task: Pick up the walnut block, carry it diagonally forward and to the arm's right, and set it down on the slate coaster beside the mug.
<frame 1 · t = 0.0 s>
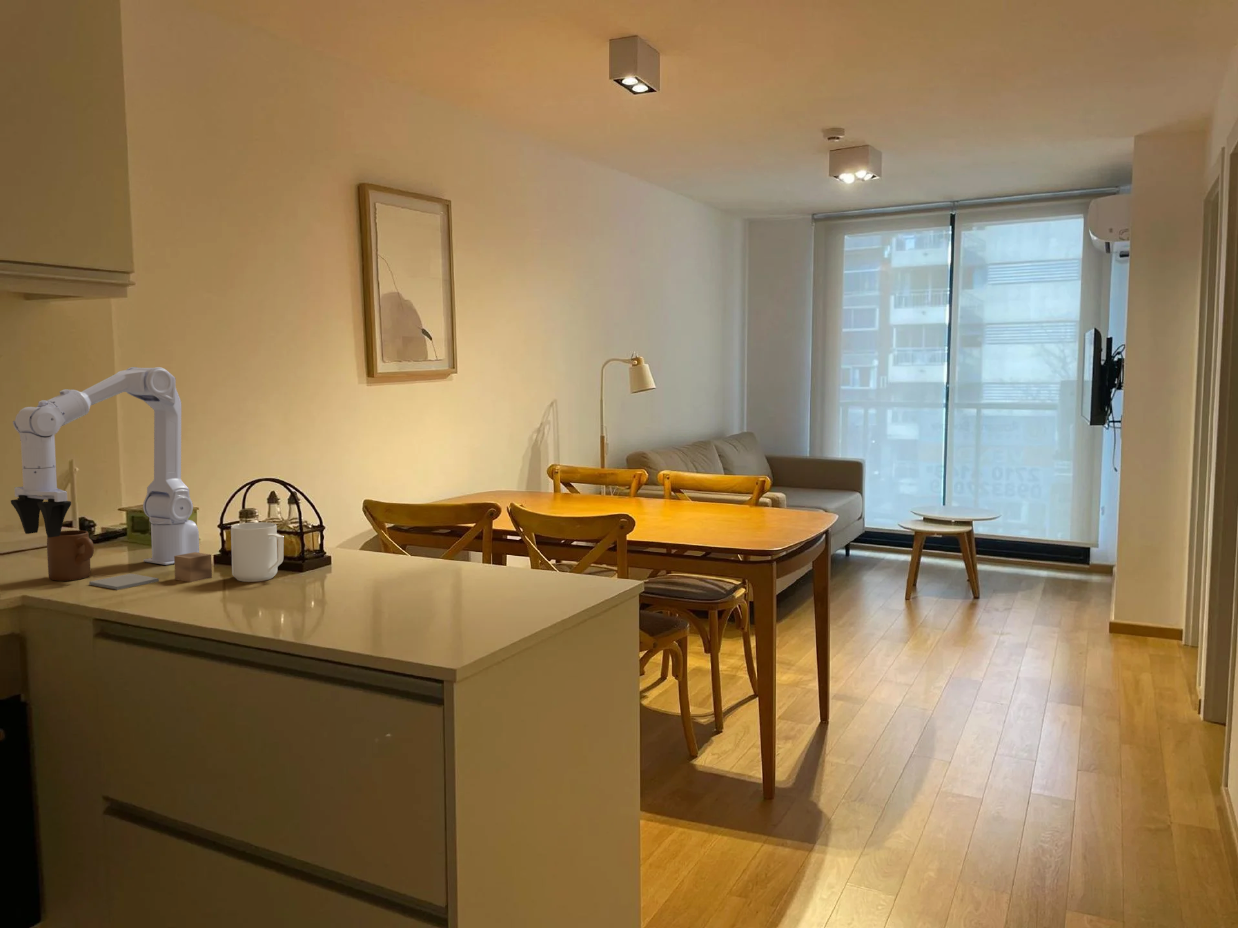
hand: (42, 534, 185), 10 cm above the countertop, fingers open, 7 cm apart
slate coaster: (124, 582, 188), on the countertop
mug: (76, 579, 192), on the countertop
mug 2: (260, 579, 194), on the countertop
walnut block: (193, 578, 193), on the countertop
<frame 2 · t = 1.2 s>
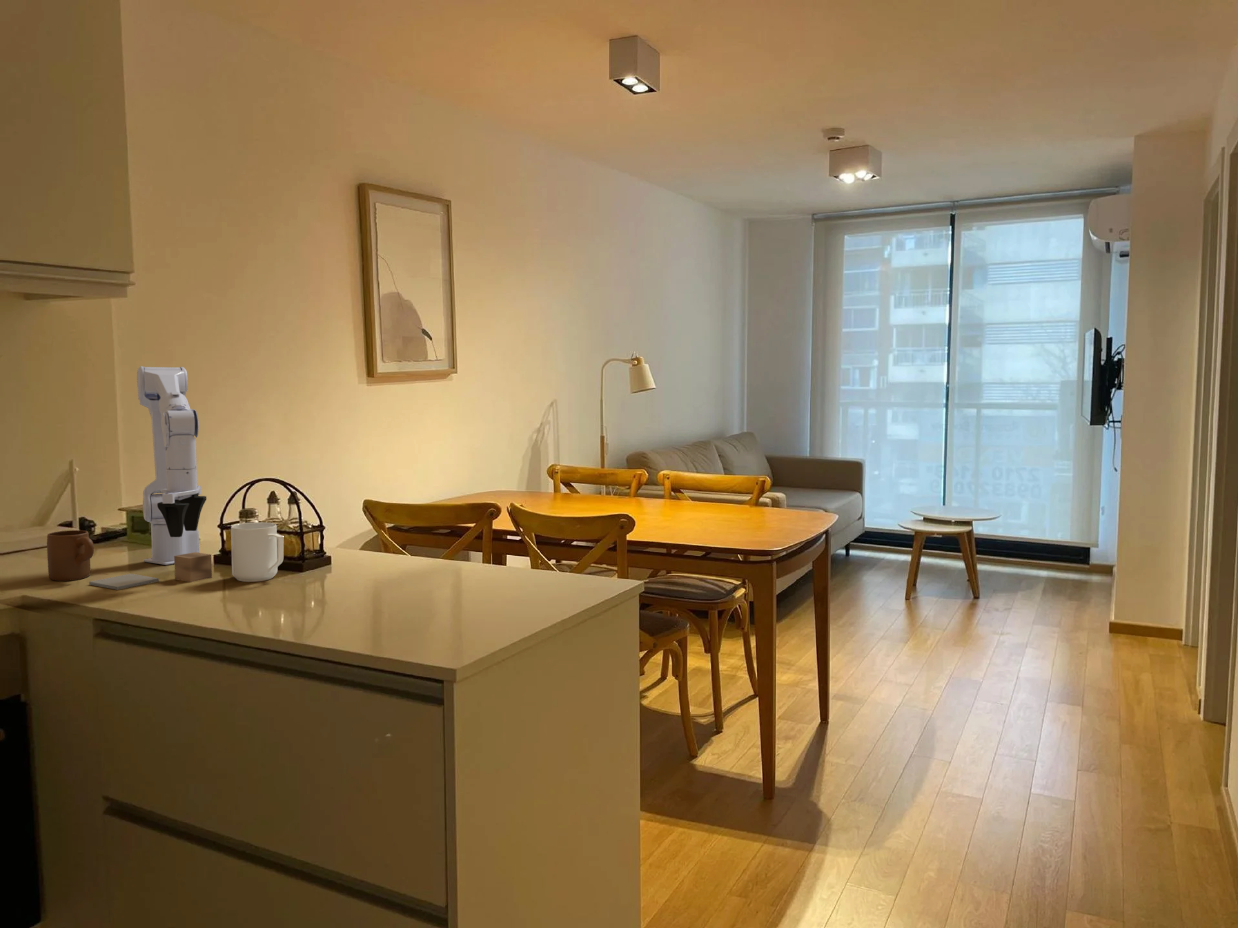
hand: (183, 533, 192), 9 cm above the countertop, fingers open, 7 cm apart
nothing on the countertop moved.
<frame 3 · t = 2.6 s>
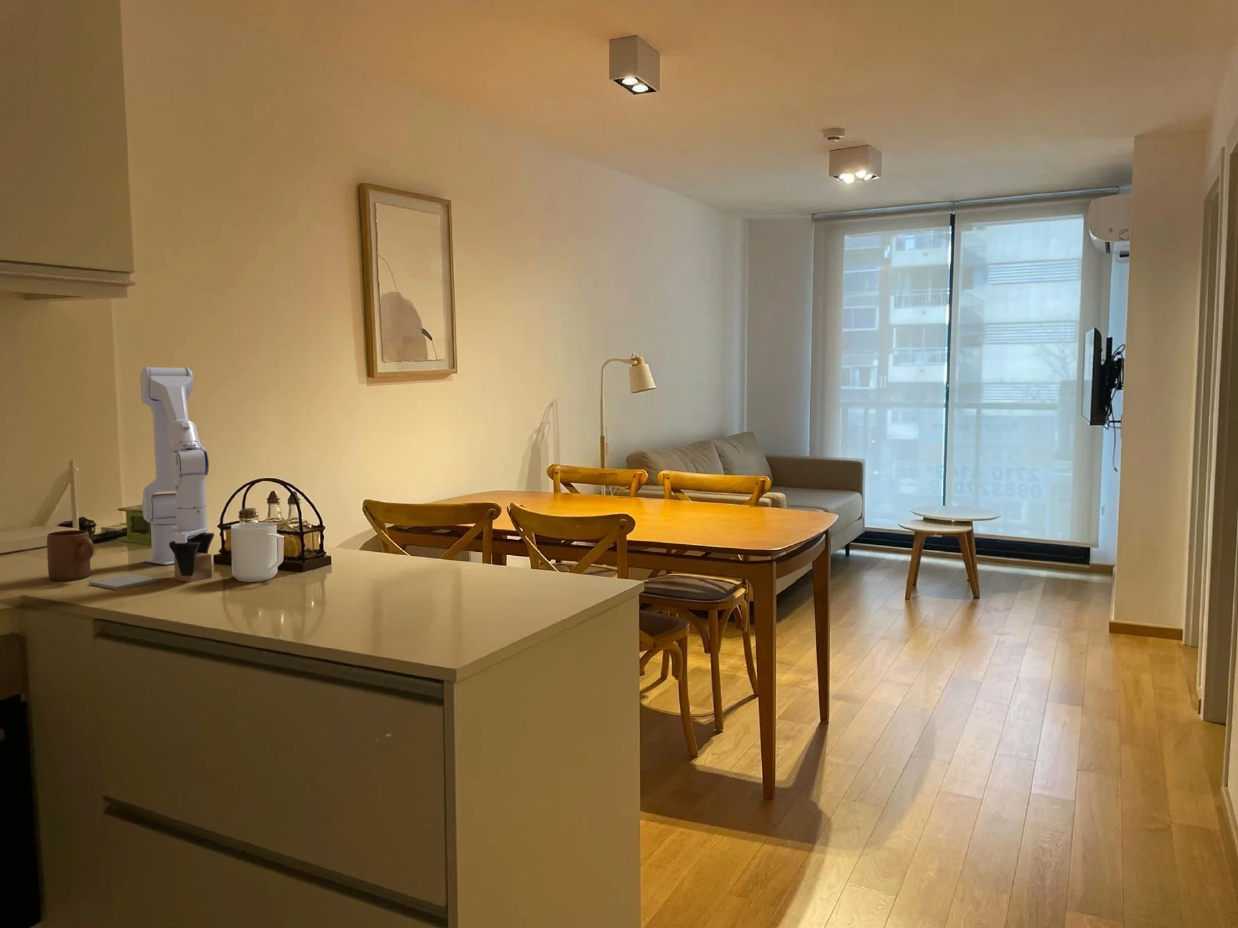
hand: (193, 571, 193), 1 cm above the countertop, fingers closed on walnut block, 7 cm apart
walnut block: (193, 578, 193), on the countertop, touching gripper
everything else where it was.
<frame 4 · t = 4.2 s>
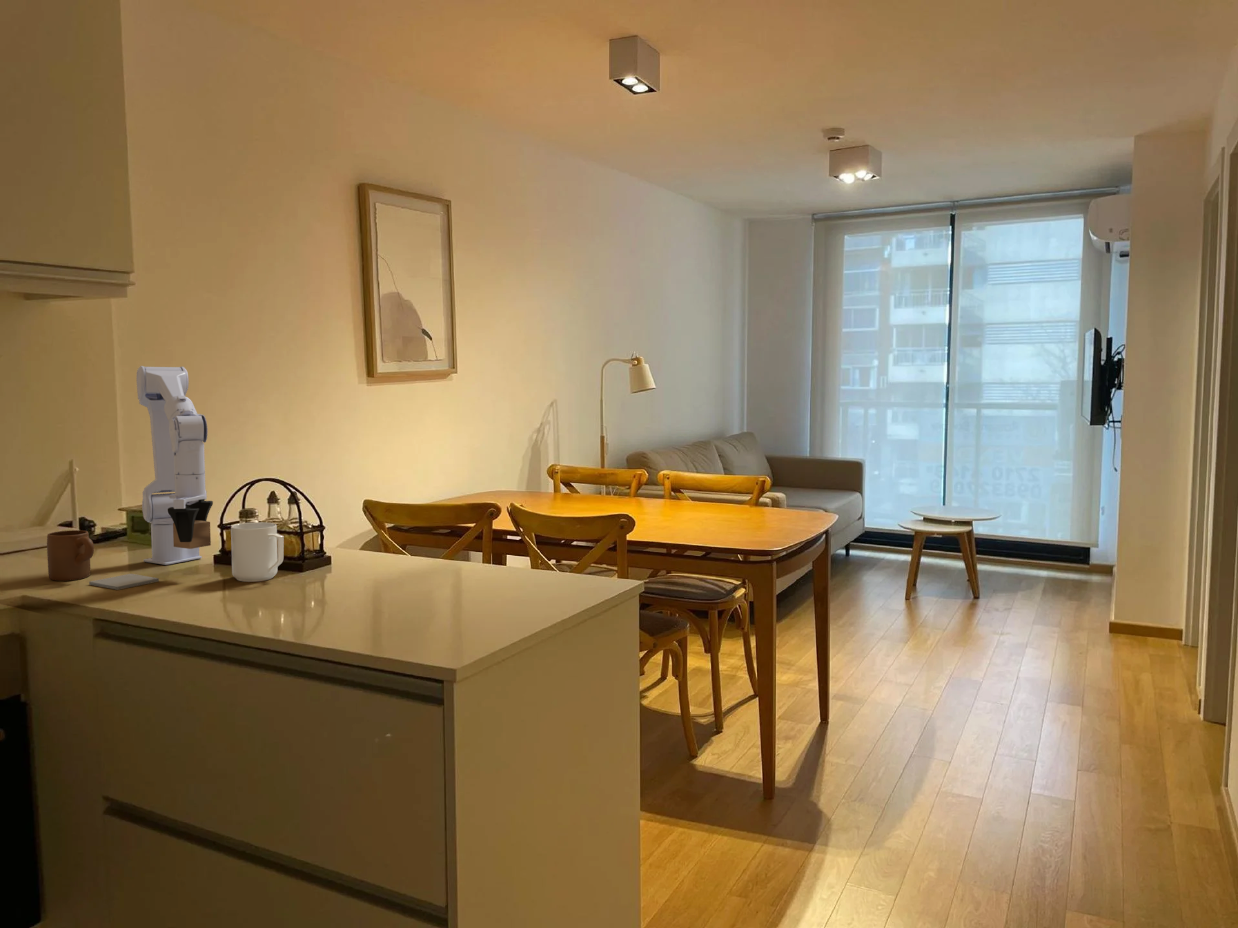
hand: (191, 538, 192), 8 cm above the countertop, fingers closed on walnut block, 7 cm apart
walnut block: (192, 546, 193), point 7 cm above the countertop, touching gripper
everything else where it was.
when the fingers open (8 cm above the countertop, at t = 4.5 s): walnut block drops 6 cm, resting on slate coaster.
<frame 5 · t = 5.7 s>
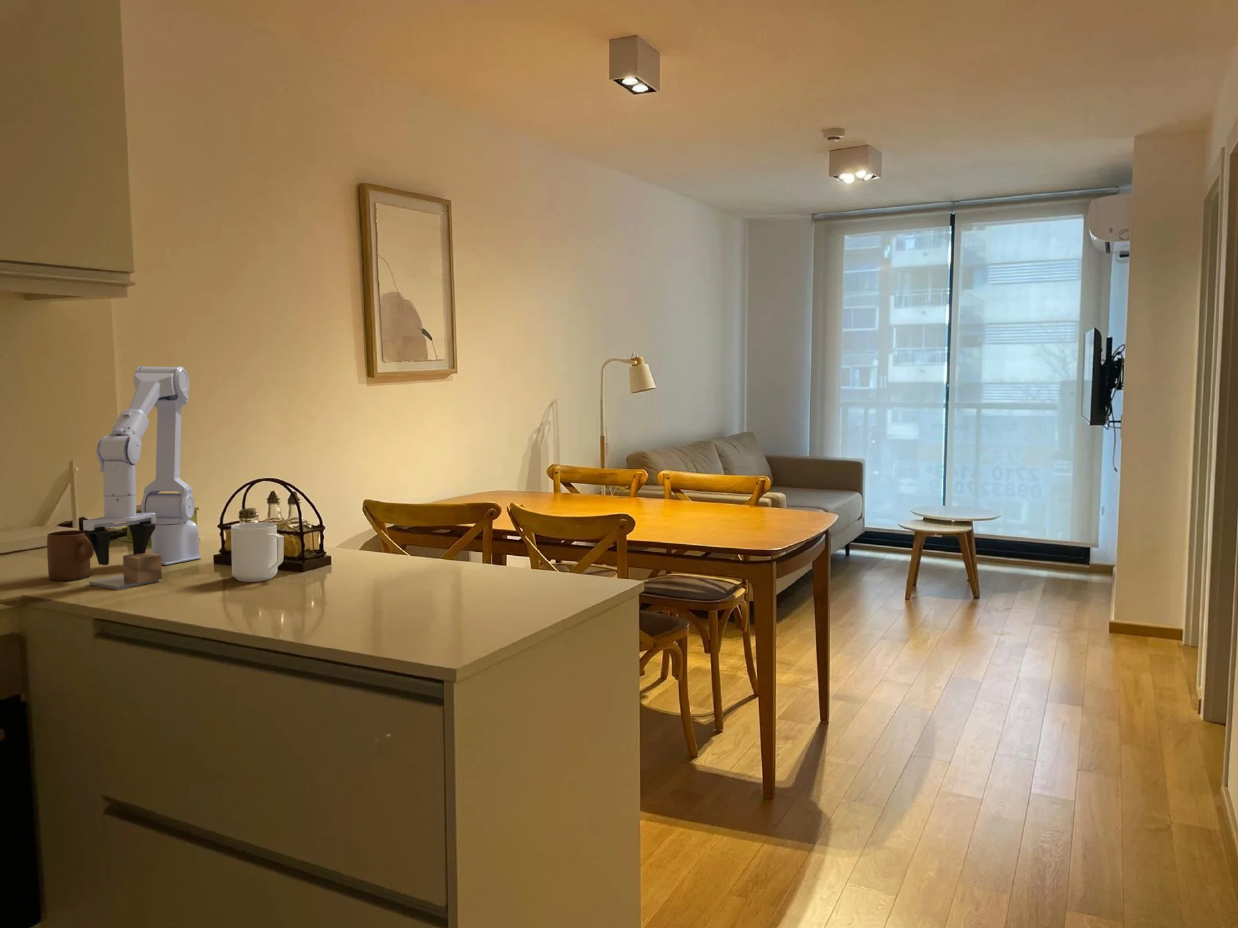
hand: (121, 561, 188), 4 cm above the countertop, fingers open, 7 cm apart
walnut block: (142, 579, 189), point 1 cm above the countertop, touching gripper, slate coaster
everything else where it was.
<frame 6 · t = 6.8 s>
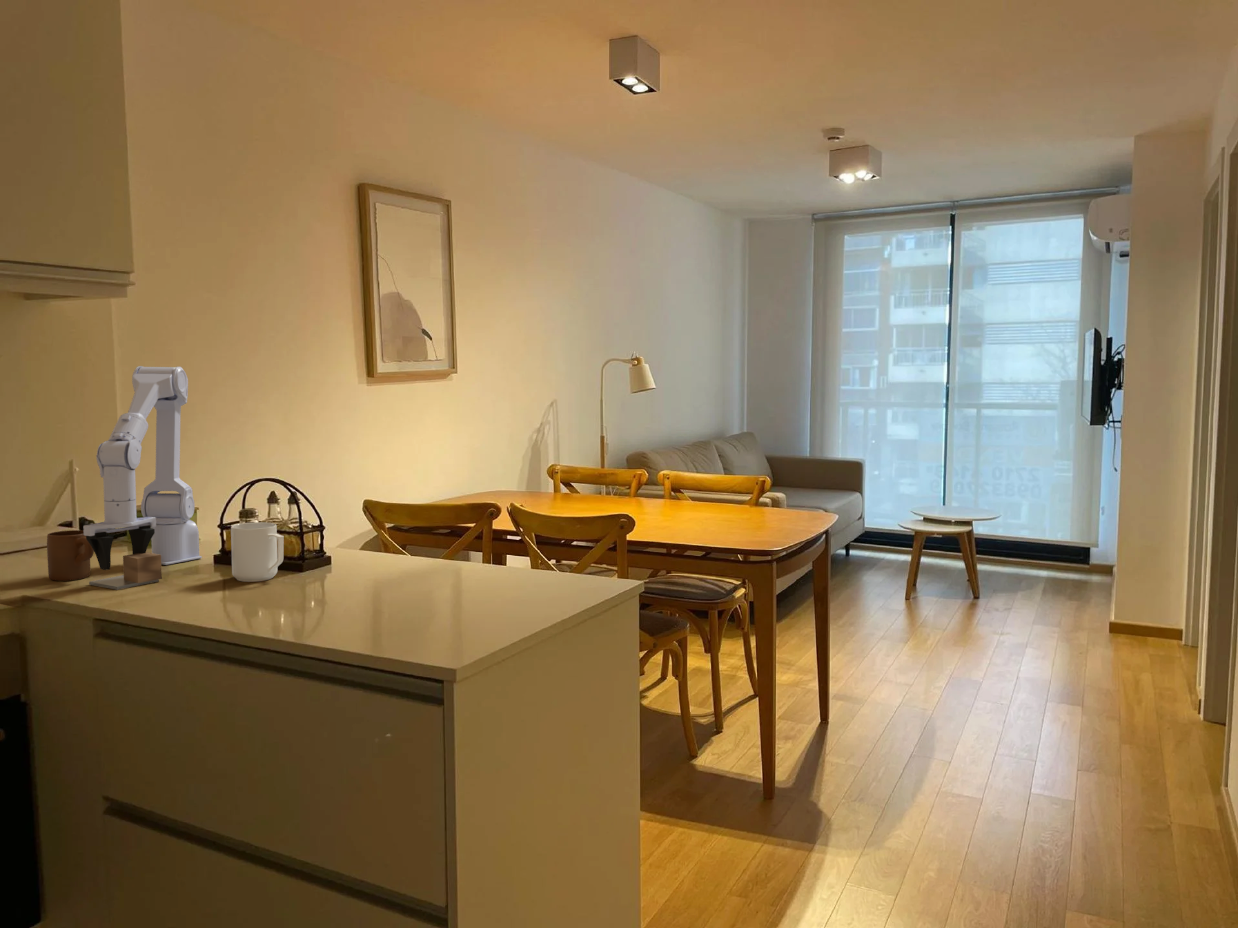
hand: (122, 566, 188), 3 cm above the countertop, fingers open, 7 cm apart
nothing on the countertop moved.
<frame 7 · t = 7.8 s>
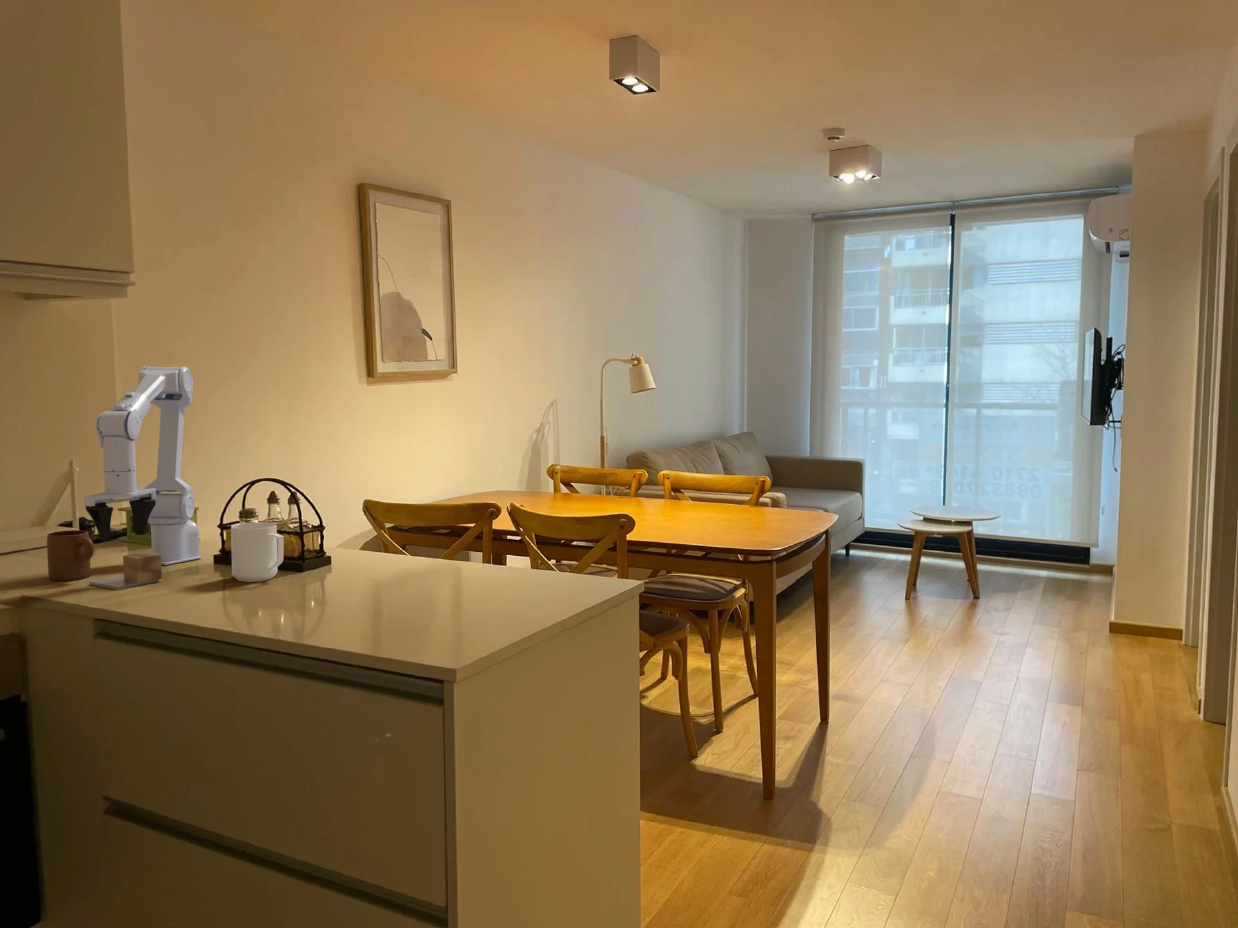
hand: (122, 537, 187), 9 cm above the countertop, fingers open, 7 cm apart
walnut block: (143, 579, 189), point 1 cm above the countertop, touching slate coaster
everything else where it was.
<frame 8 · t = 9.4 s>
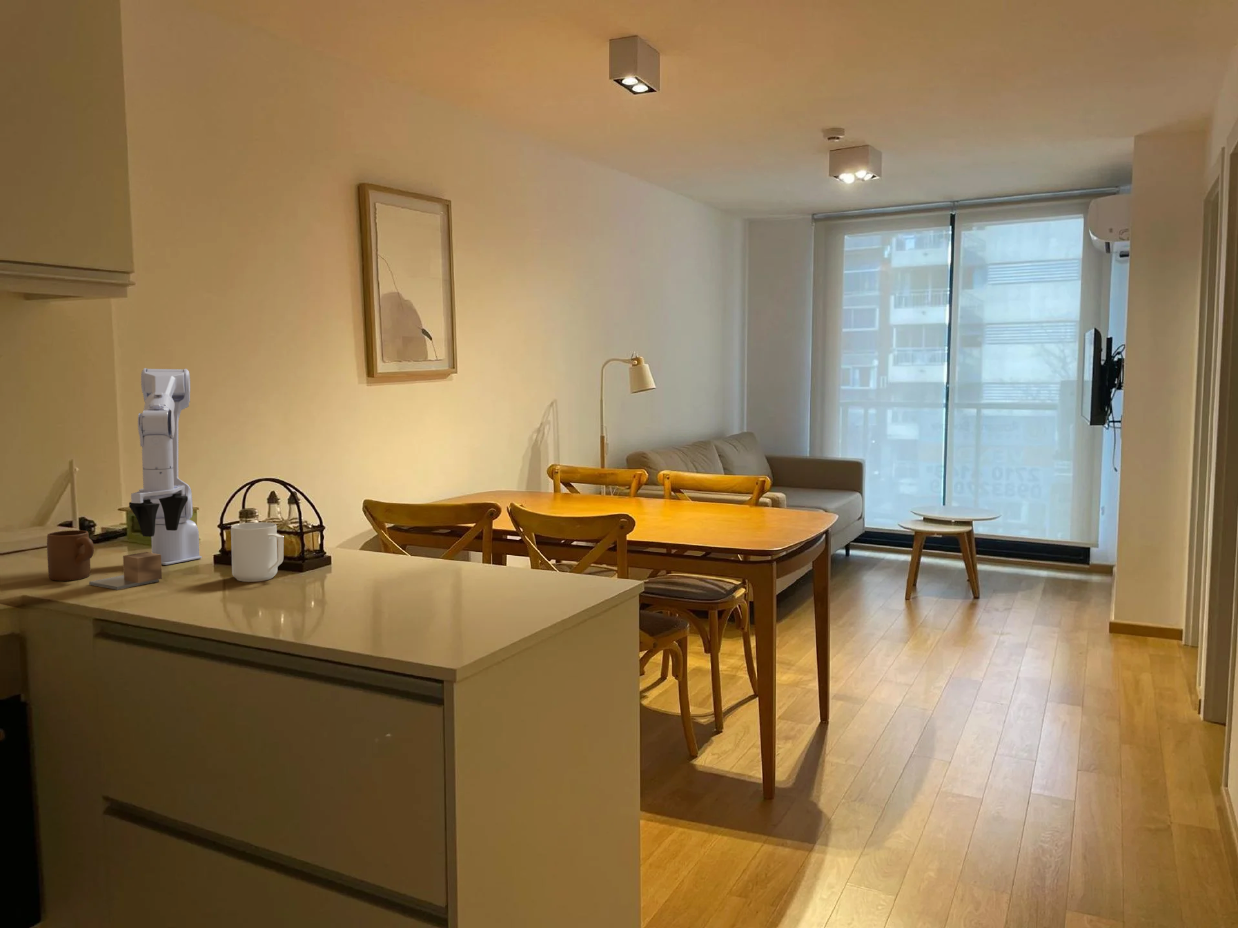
hand: (160, 533, 193), 9 cm above the countertop, fingers open, 7 cm apart
nothing on the countertop moved.
at the end: walnut block inside the target area on the slate coaster (3.5 cm from its centre), point 0.6 cm above the slate coaster's base; walnut block tilted 0°; the gripper is holding nothing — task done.
